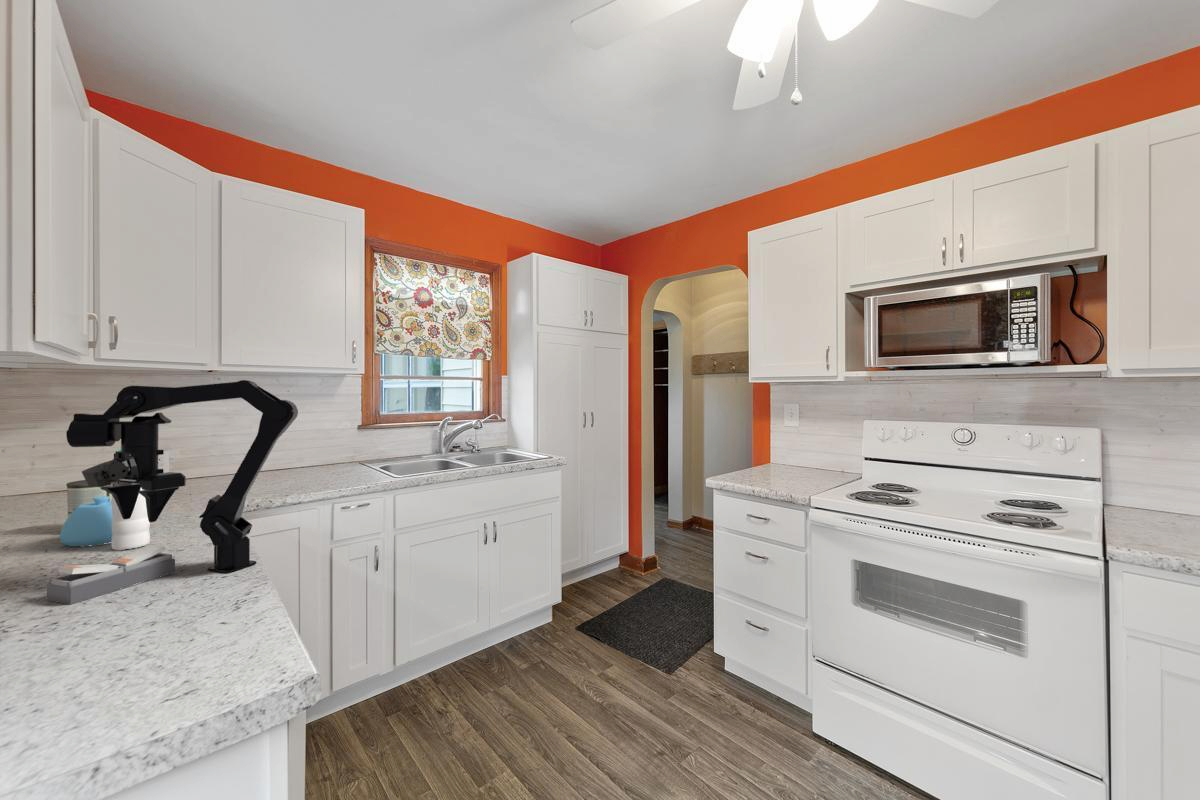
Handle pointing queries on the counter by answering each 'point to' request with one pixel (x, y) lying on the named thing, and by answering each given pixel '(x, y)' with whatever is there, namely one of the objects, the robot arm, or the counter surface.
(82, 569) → the rocker
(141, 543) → the white bottle
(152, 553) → the block
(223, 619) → the counter surface
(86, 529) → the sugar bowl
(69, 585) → the rocker switch panel
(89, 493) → the coffee can
